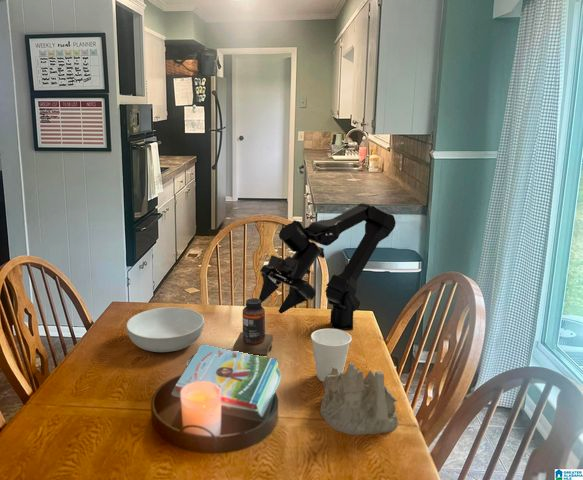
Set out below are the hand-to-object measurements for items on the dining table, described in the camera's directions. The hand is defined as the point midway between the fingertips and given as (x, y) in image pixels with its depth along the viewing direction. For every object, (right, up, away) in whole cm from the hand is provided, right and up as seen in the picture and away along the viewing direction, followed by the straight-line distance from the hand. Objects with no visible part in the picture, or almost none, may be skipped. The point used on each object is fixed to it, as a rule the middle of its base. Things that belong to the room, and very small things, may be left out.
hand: (269, 307), depth 140 cm
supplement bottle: (-4, -9, -1) cm, 10 cm away
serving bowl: (-29, -11, +5) cm, 31 cm away
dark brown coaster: (-4, -13, 0) cm, 13 cm away
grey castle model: (+20, -20, -26) cm, 39 cm away
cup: (+15, -16, -11) cm, 25 cm away
